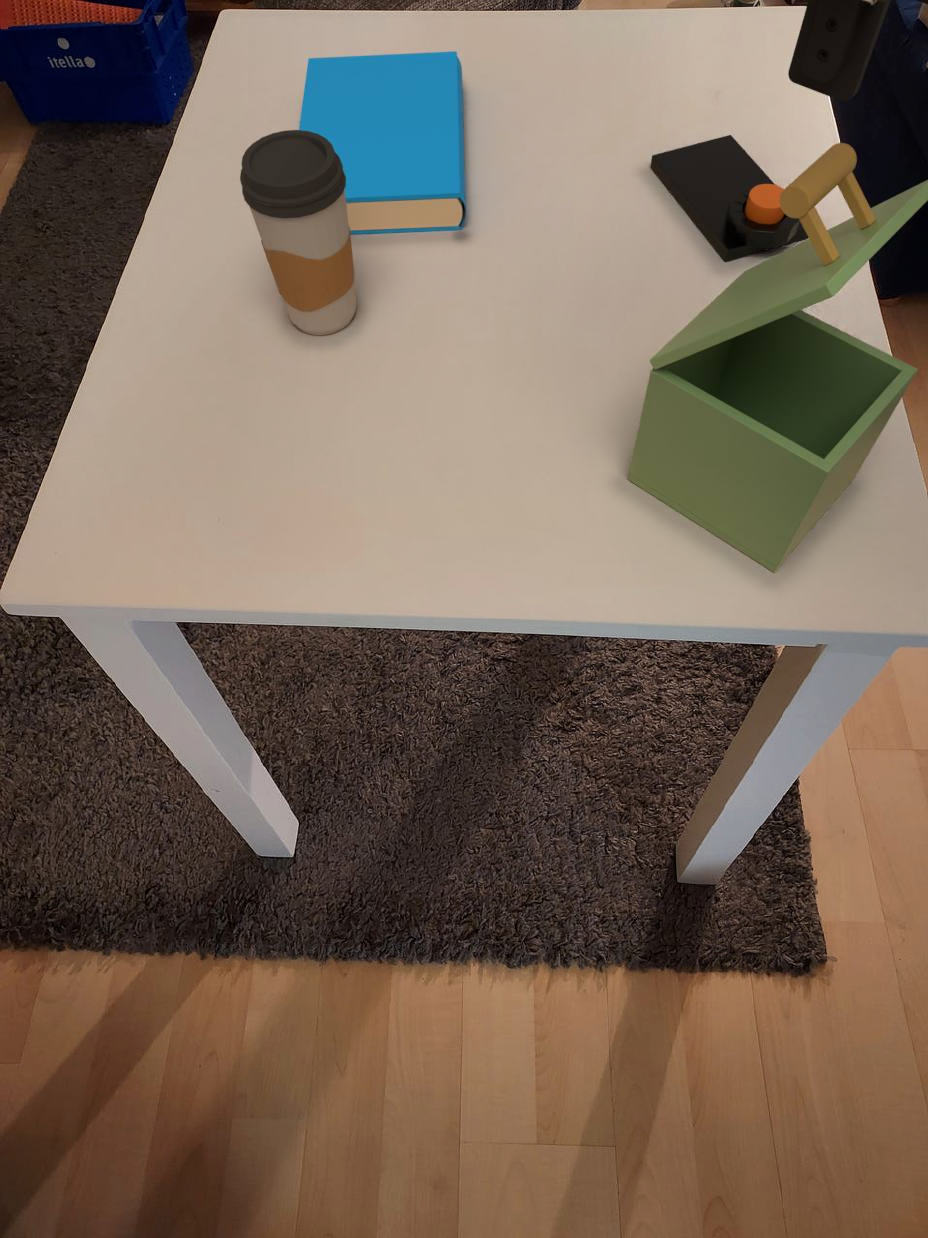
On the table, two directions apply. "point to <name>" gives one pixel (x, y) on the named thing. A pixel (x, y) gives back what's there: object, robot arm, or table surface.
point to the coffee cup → (303, 226)
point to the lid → (801, 257)
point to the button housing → (723, 196)
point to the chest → (765, 430)
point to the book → (393, 137)
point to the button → (764, 204)
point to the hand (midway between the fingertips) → (873, 42)
